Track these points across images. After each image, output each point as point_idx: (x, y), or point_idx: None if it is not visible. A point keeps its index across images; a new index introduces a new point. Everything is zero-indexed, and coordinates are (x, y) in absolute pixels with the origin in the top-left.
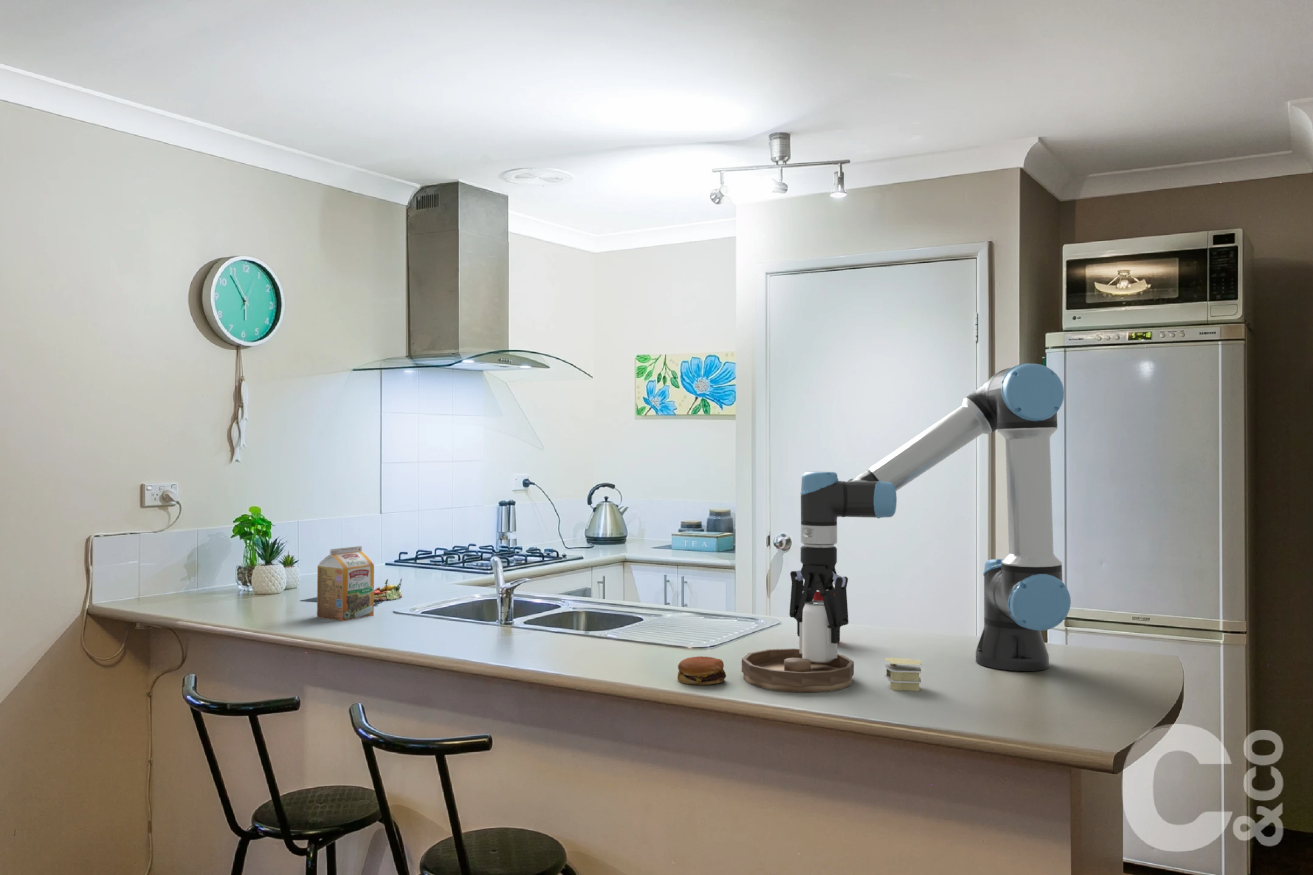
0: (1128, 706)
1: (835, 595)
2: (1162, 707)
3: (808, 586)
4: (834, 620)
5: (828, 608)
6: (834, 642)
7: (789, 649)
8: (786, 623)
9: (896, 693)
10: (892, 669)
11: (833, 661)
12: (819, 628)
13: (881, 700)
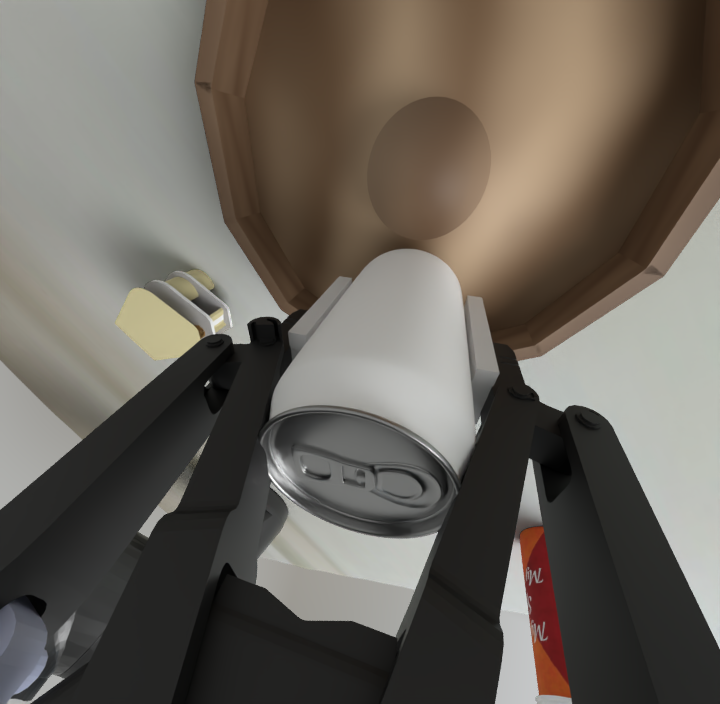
0: (44, 386)
1: (76, 483)
2: (40, 399)
3: (385, 689)
4: (534, 589)
5: (236, 408)
6: (299, 310)
7: (551, 333)
8: None
9: (166, 240)
10: (161, 287)
11: None
12: (330, 313)
13: (116, 138)
